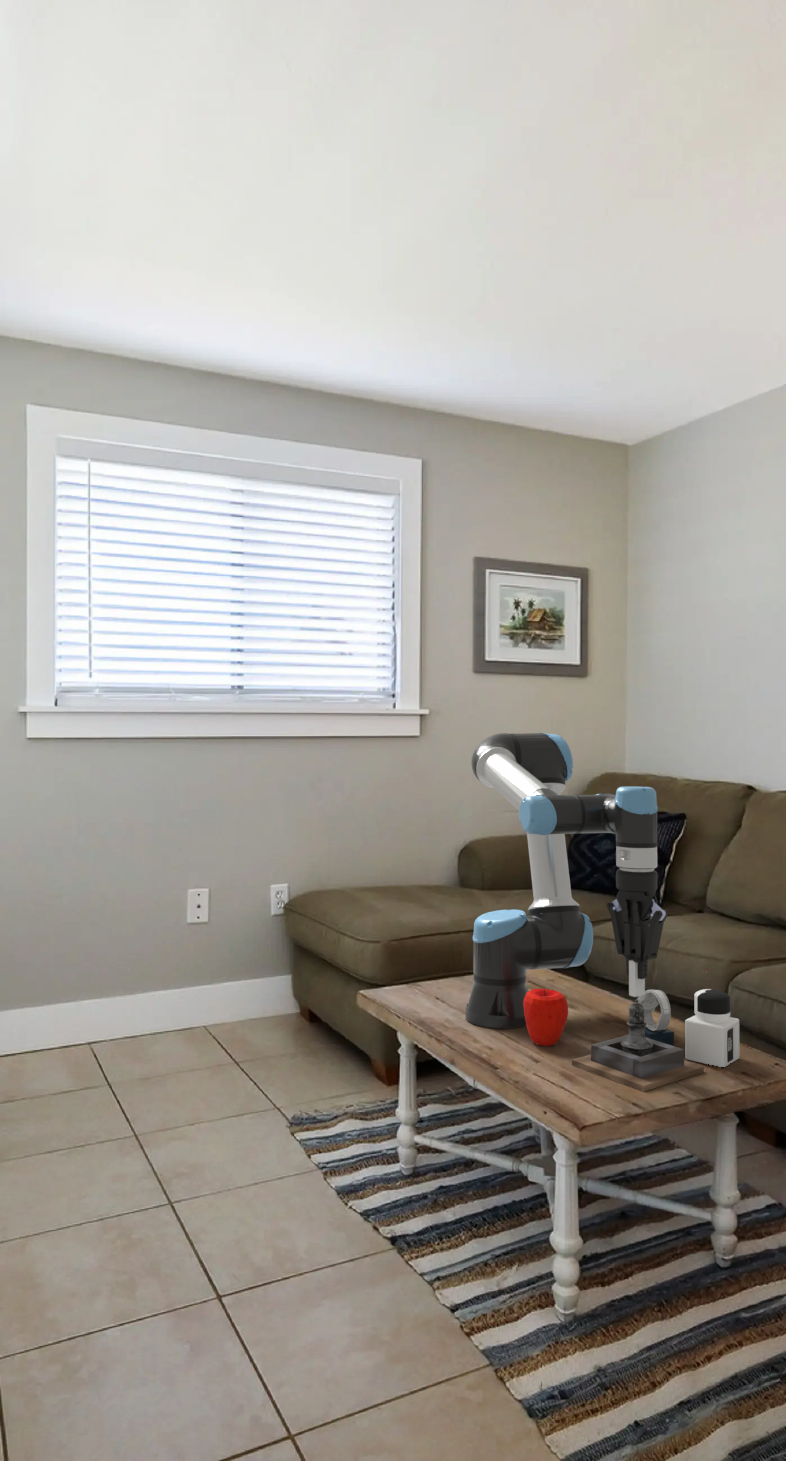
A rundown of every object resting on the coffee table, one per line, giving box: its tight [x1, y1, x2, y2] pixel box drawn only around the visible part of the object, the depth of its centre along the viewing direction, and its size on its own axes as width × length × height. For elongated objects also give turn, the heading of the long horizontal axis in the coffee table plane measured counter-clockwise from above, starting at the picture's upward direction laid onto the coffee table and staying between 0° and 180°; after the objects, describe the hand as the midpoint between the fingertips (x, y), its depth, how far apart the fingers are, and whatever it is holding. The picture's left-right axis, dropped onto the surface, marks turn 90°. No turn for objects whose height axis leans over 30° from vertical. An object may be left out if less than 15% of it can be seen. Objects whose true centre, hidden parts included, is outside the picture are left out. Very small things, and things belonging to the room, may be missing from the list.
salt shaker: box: [621, 998, 653, 1057], centre depth 178 cm, size 6×6×12 cm
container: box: [684, 988, 740, 1068], centre depth 184 cm, size 8×8×13 cm
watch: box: [636, 988, 675, 1046], centre depth 192 cm, size 6×8×11 cm
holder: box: [571, 1034, 705, 1092], centre depth 178 cm, size 17×17×4 cm
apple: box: [523, 988, 569, 1047], centre depth 194 cm, size 9×9×11 cm
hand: (636, 995), depth 178 cm, fingers closed
